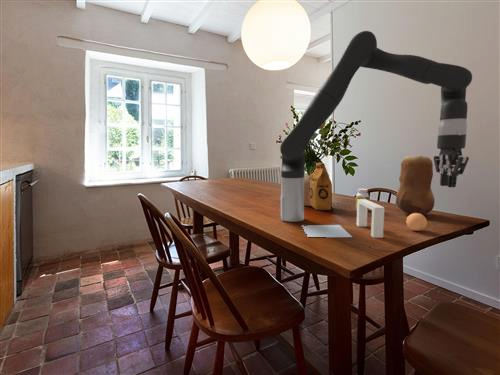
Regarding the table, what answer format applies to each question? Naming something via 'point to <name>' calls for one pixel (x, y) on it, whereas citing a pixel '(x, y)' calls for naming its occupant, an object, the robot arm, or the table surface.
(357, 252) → the table surface
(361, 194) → the supplement bottle
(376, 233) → the bridge
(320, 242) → the table surface
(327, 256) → the table surface
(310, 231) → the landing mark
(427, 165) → the butternut squash
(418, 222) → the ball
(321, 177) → the coffee package
